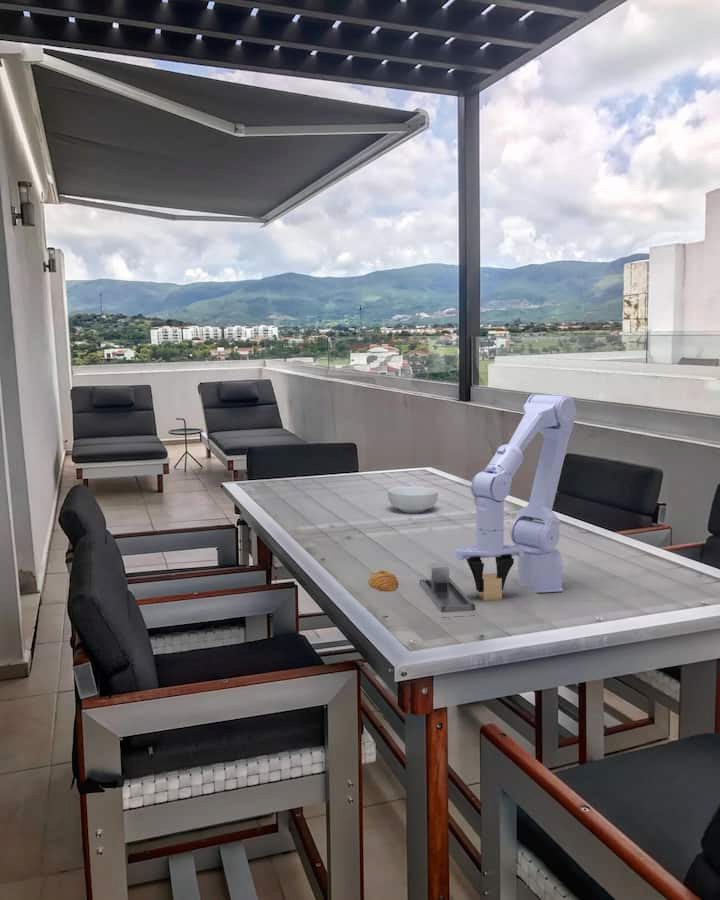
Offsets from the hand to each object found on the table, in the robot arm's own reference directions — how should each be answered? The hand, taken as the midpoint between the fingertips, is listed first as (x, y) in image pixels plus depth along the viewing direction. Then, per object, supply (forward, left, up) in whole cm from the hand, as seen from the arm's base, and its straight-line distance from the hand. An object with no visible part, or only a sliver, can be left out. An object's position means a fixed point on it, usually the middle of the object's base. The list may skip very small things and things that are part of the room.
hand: (489, 590), depth 175 cm
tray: (+9, -2, -3) cm, 10 cm away
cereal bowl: (-5, -100, -3) cm, 100 cm away
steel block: (+9, -9, -2) cm, 13 cm away
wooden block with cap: (0, 0, -2) cm, 2 cm away
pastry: (+21, -13, -3) cm, 25 cm away
